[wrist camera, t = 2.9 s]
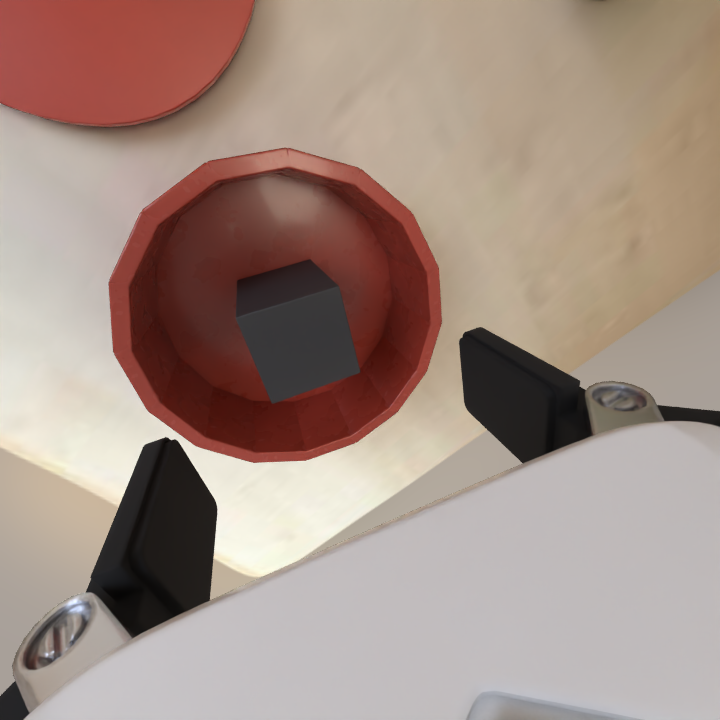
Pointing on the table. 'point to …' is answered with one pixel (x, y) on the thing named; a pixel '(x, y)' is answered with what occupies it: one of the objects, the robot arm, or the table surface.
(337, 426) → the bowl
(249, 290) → the block
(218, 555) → the table surface
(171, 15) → the lid
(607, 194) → the table surface
